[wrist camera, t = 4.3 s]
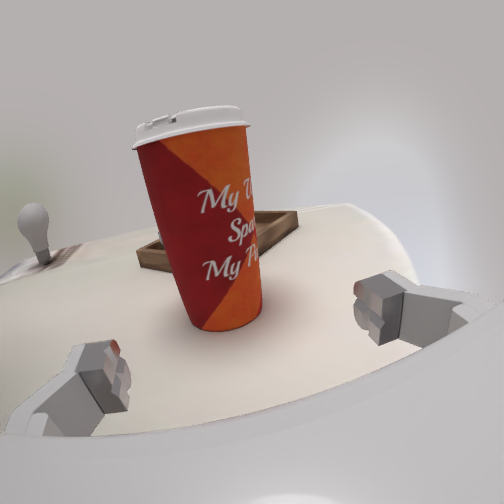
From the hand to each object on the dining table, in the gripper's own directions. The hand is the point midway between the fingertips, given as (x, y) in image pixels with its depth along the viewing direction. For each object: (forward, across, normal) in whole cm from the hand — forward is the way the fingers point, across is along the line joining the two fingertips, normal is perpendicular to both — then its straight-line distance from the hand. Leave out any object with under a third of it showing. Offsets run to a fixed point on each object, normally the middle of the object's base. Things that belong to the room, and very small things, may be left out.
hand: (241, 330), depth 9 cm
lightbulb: (+39, +29, +6) cm, 49 cm away
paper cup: (+12, 0, +6) cm, 13 cm away
